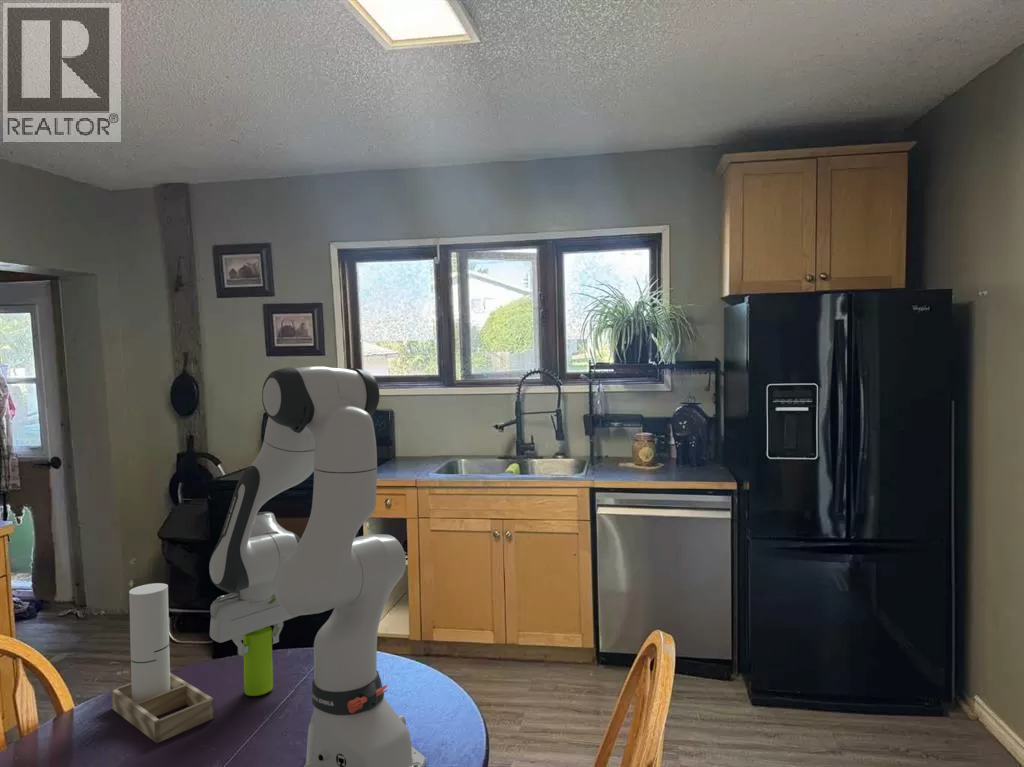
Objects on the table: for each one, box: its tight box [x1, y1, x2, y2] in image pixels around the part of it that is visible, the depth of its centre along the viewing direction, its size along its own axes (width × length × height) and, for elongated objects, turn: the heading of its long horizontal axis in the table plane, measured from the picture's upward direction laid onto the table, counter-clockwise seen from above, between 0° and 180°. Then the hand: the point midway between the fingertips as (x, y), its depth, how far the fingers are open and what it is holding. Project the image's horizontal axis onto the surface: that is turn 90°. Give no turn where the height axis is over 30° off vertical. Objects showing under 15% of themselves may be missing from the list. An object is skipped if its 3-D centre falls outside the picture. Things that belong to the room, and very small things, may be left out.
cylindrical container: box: [128, 582, 171, 703], centre depth 135 cm, size 7×7×25 cm
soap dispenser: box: [242, 599, 276, 697], centre depth 141 cm, size 6×7×20 cm
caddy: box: [110, 672, 215, 744], centre depth 132 cm, size 21×11×4 cm, turn 52°
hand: (258, 648), depth 140 cm, fingers closed on soap dispenser, 6 cm apart
